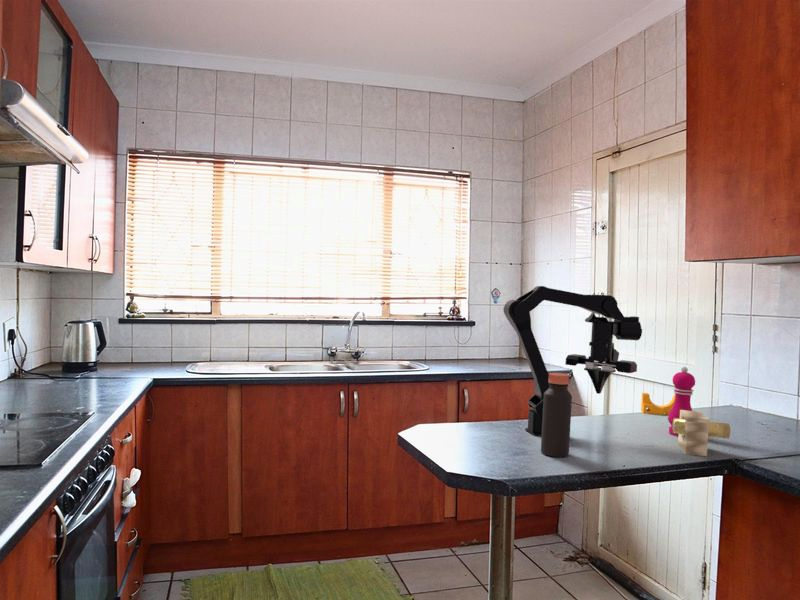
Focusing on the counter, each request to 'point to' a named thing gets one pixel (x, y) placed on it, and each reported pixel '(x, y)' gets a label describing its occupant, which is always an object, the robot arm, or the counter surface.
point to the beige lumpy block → (694, 433)
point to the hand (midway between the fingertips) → (598, 393)
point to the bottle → (556, 416)
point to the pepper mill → (681, 395)
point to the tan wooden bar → (714, 430)
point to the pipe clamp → (655, 406)
